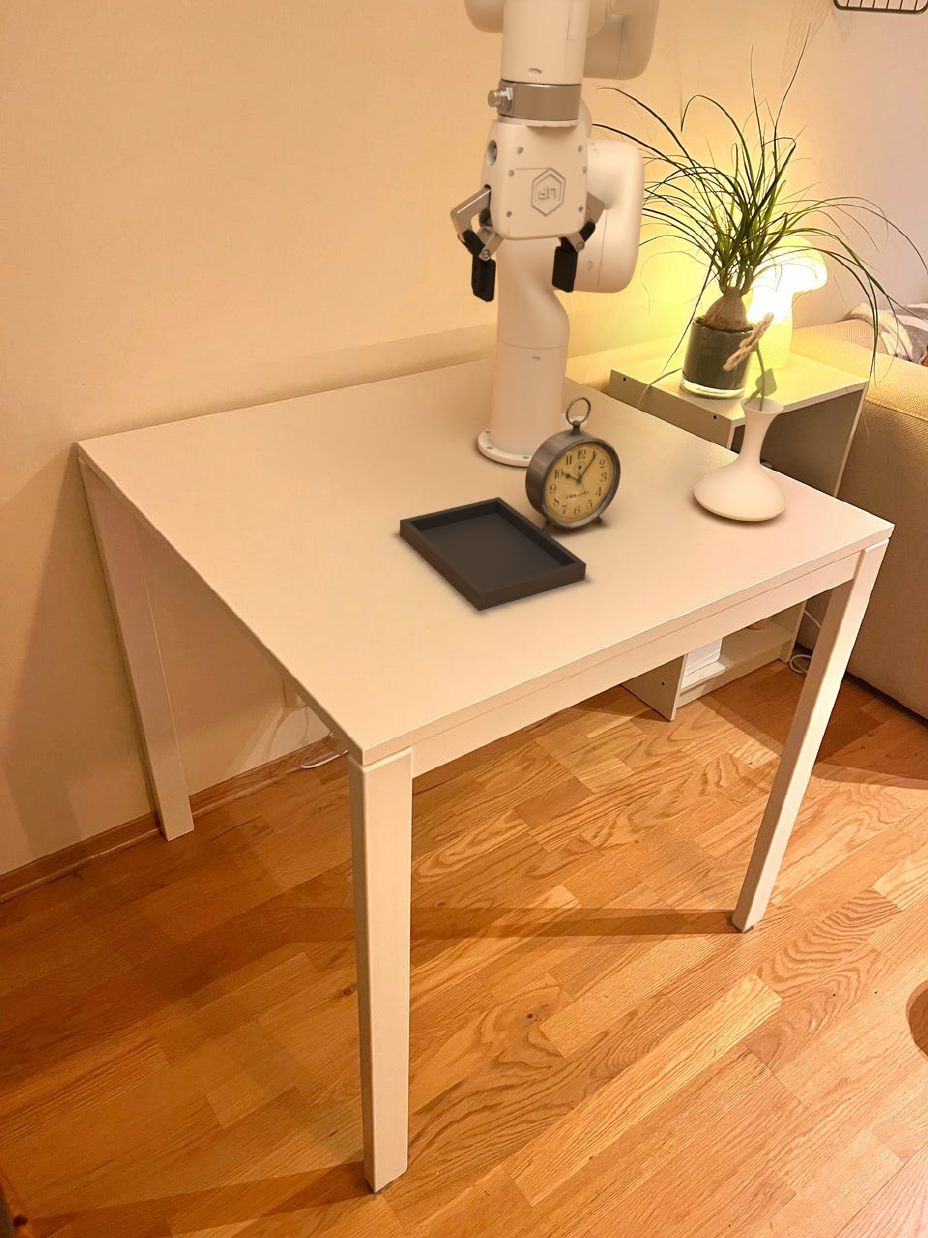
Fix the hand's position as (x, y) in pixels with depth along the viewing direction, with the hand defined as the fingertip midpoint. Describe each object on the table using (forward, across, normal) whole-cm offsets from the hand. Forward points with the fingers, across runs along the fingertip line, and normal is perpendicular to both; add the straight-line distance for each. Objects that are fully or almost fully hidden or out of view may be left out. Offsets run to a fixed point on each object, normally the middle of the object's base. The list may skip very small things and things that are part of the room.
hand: (523, 293), depth 94 cm
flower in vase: (+27, +28, -9) cm, 40 cm away
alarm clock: (+27, +6, -4) cm, 28 cm away
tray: (+27, -6, -6) cm, 28 cm away
